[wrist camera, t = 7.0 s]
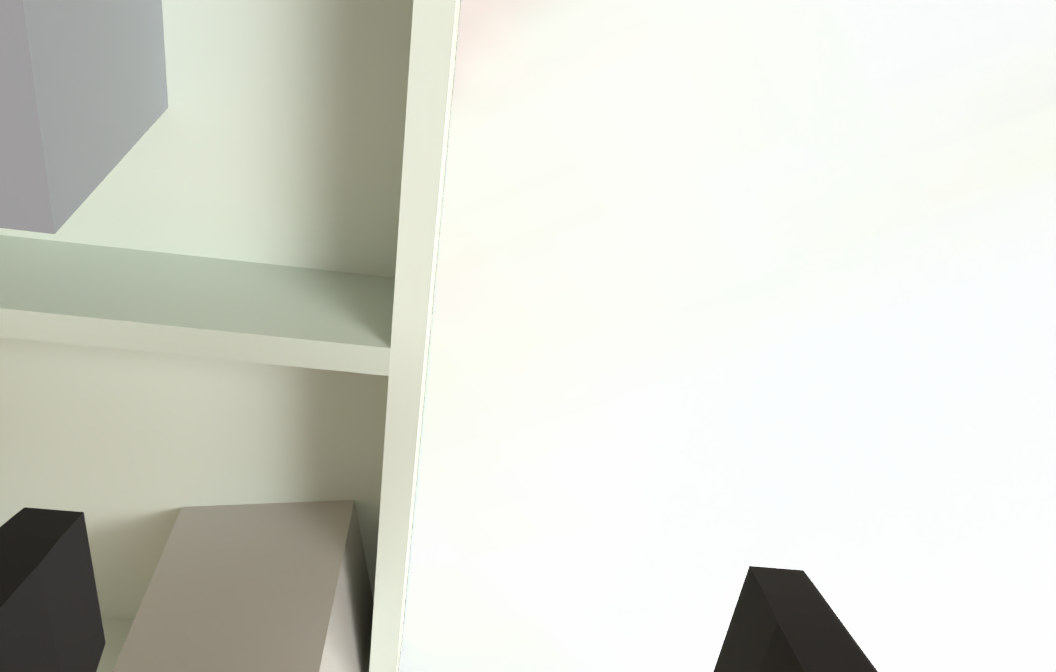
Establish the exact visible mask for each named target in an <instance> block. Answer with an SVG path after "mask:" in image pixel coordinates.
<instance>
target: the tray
mask: <svg viewBox="0 0 1056 672" xmlns="http://www.w3.org/2000/svg"><path fill="white" fill-rule="evenodd" d="M460 5H461V0H162V12H163V29H164V45H165V61H166V78H167V94H168V108H167V109H166V111H165V112H164V113H163V114H162V115H161V116H160V117H159V118H158V119H157V121H156V122H155V123H154V124H153V125H152V126H151V127H150V128H149V130H148V131H147V132H146V133H145V134H144V135H143V136H142V137H141V138H140V140H139V141H138V142H137V143H136V144H135V145H134V146H133V147H132V149H131V150H130V151H129V152H128V153H127V154H126V155H125V156H124V157H123V159H122V160H121V161H120V162H119V163H118V164H117V165H116V166H115V167H114V169H113V170H112V171H111V172H110V173H109V174H108V175H107V176H106V178H105V179H104V180H103V181H102V182H101V183H100V184H99V185H98V186H97V188H96V189H95V190H94V191H93V192H92V193H91V194H90V195H89V197H88V198H87V199H86V200H85V201H84V202H83V203H82V204H81V205H80V207H79V208H78V209H77V210H76V211H75V212H74V213H73V214H72V215H71V217H70V218H69V219H68V220H67V221H66V222H65V223H64V224H63V226H62V227H61V228H60V229H59V230H58V231H57V232H56V233H55V234H48V233H40V232H32V231H23V230H15V229H6V228H0V527H1V526H2V525H3V524H4V523H6V522H7V521H8V520H9V519H10V518H12V517H13V516H14V515H15V514H16V513H18V512H19V511H20V510H22V509H23V508H24V507H27V508H39V509H51V510H64V511H76V512H84V517H85V523H86V529H87V535H88V541H89V547H90V553H91V559H92V565H93V571H94V577H95V583H96V589H97V594H98V600H99V606H100V612H101V618H102V624H103V630H104V636H105V642H106V643H105V647H104V650H103V653H102V656H101V659H100V662H99V665H98V668H97V671H96V672H112V671H113V669H114V666H115V664H116V662H117V659H118V657H119V654H120V652H121V650H122V647H123V645H124V643H125V640H126V638H127V636H128V633H129V631H130V628H131V626H132V624H133V621H134V619H135V617H136V614H137V612H138V610H139V607H140V605H141V602H142V600H143V598H144V595H145V593H146V591H147V588H148V586H149V584H150V581H151V579H152V576H153V574H154V572H155V569H156V567H157V565H158V562H159V560H160V557H161V555H162V553H163V550H164V548H165V546H166V543H167V541H168V539H169V536H170V534H171V531H172V529H173V527H174V524H175V522H176V520H177V517H178V515H179V513H180V510H181V508H182V507H192V506H216V505H241V504H265V503H290V502H315V501H339V500H354V501H355V506H356V512H357V517H358V522H359V527H360V533H361V538H362V543H363V549H364V554H365V559H366V565H367V570H368V575H369V581H370V586H371V591H372V597H373V602H374V606H373V621H372V637H371V652H370V664H369V670H368V672H398V671H399V662H400V654H401V646H402V637H403V626H404V615H405V604H406V593H407V582H408V572H409V561H410V550H411V539H412V528H413V517H414V506H415V495H416V484H417V474H418V463H419V452H420V441H421V430H422V419H423V408H424V397H425V386H426V376H427V365H428V354H429V343H430V332H431V321H432V310H433V299H434V288H435V278H436V267H437V256H438V245H439V234H440V223H441V212H442V201H443V190H444V180H445V169H446V158H447V147H448V136H449V125H450V114H451V103H452V93H453V82H454V71H455V60H456V49H457V38H458V27H459V16H460Z"/></svg>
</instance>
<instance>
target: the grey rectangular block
mask: <svg viewBox="0 0 1056 672" xmlns="http://www.w3.org/2000/svg"><path fill="white" fill-rule="evenodd" d="M167 108H168V94H167V78H166V61H165V45H164V29H163V12H162V0H0V228H6V229H15V230H23V231H32V232H40V233H48V234H55V233H56V232H57V231H58V230H59V229H60V228H61V227H62V226H63V224H64V223H65V222H66V221H67V220H68V219H69V218H70V217H71V215H72V214H73V213H74V212H75V211H76V210H77V209H78V208H79V207H80V205H81V204H82V203H83V202H84V201H85V200H86V199H87V198H88V197H89V195H90V194H91V193H92V192H93V191H94V190H95V189H96V188H97V186H98V185H99V184H100V183H101V182H102V181H103V180H104V179H105V178H106V176H107V175H108V174H109V173H110V172H111V171H112V170H113V169H114V167H115V166H116V165H117V164H118V163H119V162H120V161H121V160H122V159H123V157H124V156H125V155H126V154H127V153H128V152H129V151H130V150H131V149H132V147H133V146H134V145H135V144H136V143H137V142H138V141H139V140H140V138H141V137H142V136H143V135H144V134H145V133H146V132H147V131H148V130H149V128H150V127H151V126H152V125H153V124H154V123H155V122H156V121H157V119H158V118H159V117H160V116H161V115H162V114H163V113H164V112H165V111H166V109H167Z"/></svg>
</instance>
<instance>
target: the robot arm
mask: <svg viewBox="0 0 1056 672" xmlns="http://www.w3.org/2000/svg"><path fill="white" fill-rule="evenodd" d="M105 643H106V642H105V636H104V630H103V624H102V618H101V612H100V606H99V600H98V594H97V589H96V583H95V577H94V571H93V565H92V559H91V553H90V547H89V541H88V535H87V529H86V523H85V517H84V512H76V511H64V510H51V509H39V508H27V507H24V508H23V509H22V510H20V511H19V512H18V513H16V514H15V515H14V516H13V517H12V518H10V519H9V520H8V521H7V522H6V523H4V524H3V525H2V526H1V527H0V672H96V671H97V668H98V665H99V662H100V659H101V656H102V653H103V650H104V647H105ZM714 672H877V670H876V669H875V668H874V666H873V665H872V664H871V662H870V661H869V660H868V658H867V657H866V656H865V654H864V653H863V651H862V650H861V649H860V647H859V646H858V645H857V643H856V642H855V641H854V639H853V638H852V636H851V635H850V634H849V632H848V631H847V630H846V628H845V627H844V625H843V624H842V623H841V621H840V620H839V619H838V617H837V616H836V614H835V613H834V612H833V610H832V609H831V607H830V606H829V605H828V603H827V602H826V601H825V599H824V598H823V596H822V595H821V594H820V592H819V591H818V590H817V588H816V587H815V586H814V584H813V583H812V582H811V580H810V579H809V578H808V576H807V575H806V574H805V572H804V571H801V570H789V569H776V568H764V567H752V566H750V567H749V570H748V573H747V576H746V579H745V582H744V584H743V587H742V590H741V593H740V596H739V599H738V602H737V605H736V608H735V611H734V614H733V617H732V620H731V623H730V626H729V629H728V631H727V634H726V637H725V640H724V643H723V646H722V649H721V652H720V655H719V658H718V661H717V664H716V667H715V670H714Z"/></svg>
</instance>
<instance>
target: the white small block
mask: <svg viewBox="0 0 1056 672" xmlns="http://www.w3.org/2000/svg"><path fill="white" fill-rule="evenodd" d="M373 606H374V602H373V597H372V591H371V586H370V581H369V575H368V570H367V565H366V559H365V554H364V549H363V543H362V538H361V533H360V527H359V522H358V517H357V512H356V506H355V501H354V500H339V501H315V502H290V503H265V504H241V505H216V506H192V507H182V508H181V510H180V513H179V515H178V517H177V520H176V522H175V524H174V527H173V529H172V531H171V534H170V536H169V539H168V541H167V543H166V546H165V548H164V550H163V553H162V555H161V557H160V560H159V562H158V565H157V567H156V569H155V572H154V574H153V576H152V579H151V581H150V584H149V586H148V588H147V591H146V593H145V595H144V598H143V600H142V602H141V605H140V607H139V610H138V612H137V614H136V617H135V619H134V621H133V624H132V626H131V628H130V631H129V633H128V636H127V638H126V640H125V643H124V645H123V647H122V650H121V652H120V654H119V657H118V659H117V662H116V664H115V666H114V669H113V671H112V672H368V670H369V664H370V652H371V637H372V621H373Z"/></svg>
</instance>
